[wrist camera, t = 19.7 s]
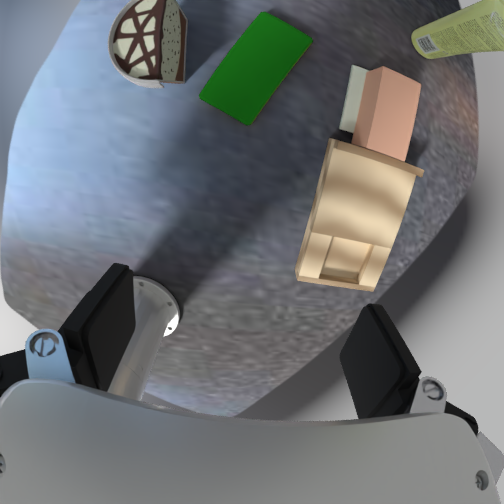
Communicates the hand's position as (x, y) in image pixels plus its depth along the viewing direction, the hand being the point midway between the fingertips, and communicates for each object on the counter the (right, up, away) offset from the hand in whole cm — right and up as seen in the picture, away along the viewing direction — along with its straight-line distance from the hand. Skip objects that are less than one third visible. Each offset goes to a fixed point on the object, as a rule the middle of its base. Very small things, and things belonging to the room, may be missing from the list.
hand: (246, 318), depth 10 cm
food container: (-11, +28, +16) cm, 34 cm away
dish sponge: (+1, +25, +18) cm, 30 cm away
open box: (+14, +7, +25) cm, 30 cm away
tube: (+24, +31, +13) cm, 42 cm away
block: (+16, +19, +16) cm, 29 cm away
